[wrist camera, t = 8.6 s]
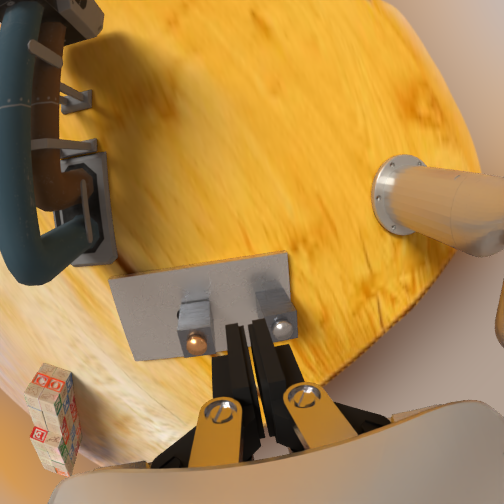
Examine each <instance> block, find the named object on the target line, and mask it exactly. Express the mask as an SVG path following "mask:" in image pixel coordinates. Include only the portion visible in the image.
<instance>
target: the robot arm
mask: <svg viewBox="0 0 504 504" xmlns="http://www.w3.org/2000/svg"><path fill="white" fill-rule="evenodd" d="M371 200H372V207H373V210H374V213H375V216H376V218H377V220H378V221H379V223H380V224H381V225H382V226H383V227H384V228H385V229H386V230H388V231H390V232H392V233H394V234H397V235H409V234H412V233H414V232H418V233H421V234H423V235H425V236H428V237H430V238H433V239H435V240H437V241H440V242H442V243H444V244H446V245H449V246H451V247H453V248H456V249H458V250H460V251H462V252H465V253H467V254H469V255H472V256H475V257H488V256H491V255H494V254H496V253H498V252H500V251H501V250H503V249H504V177H499V176H492V175H486V174H480V173H472V172H465V171H458V170H450V169H442V168H434V167H427V166H426V165H425V164H424V163H423V162H422V161H421V160H420V159H418V158H417V157H414V156H412V155H397V156H393V157H391V158H390V159H388V160H387V161H386V162H384V163H383V164H382V166H381V167H380V168H379V170H378V172H377V173H376V175H375V178H374V181H373V185H372V191H371ZM225 329H226V340H227V350H228V355H224V356H218V357H212V388H213V399H211V400H209V401H208V402H206V403H205V404H204V405H203V406H202V407H201V410H200V412H199V417H198V422H197V426H195V427H194V428H193V429H192V430H190V431H189V432H188V433H187V434H186V435H184V436H183V437H182V438H181V439H179V440H178V441H177V442H175V443H174V444H173V445H172V446H170V447H169V448H168V449H166V450H165V451H164V452H162V453H161V454H160V455H158V456H157V457H156V458H155V459H154V460H153V462H150V463H147V462H146V461H140V462H135V463H129V464H122V465H115V466H108V467H100V468H96V469H94V470H93V471H88V472H84V473H80V474H76V475H73V476H70V477H68V478H65V479H64V480H62V481H61V482H60V483H59V484H58V485H57V486H56V488H55V489H54V491H53V493H52V495H51V497H50V499H49V502H48V504H504V417H503V416H502V415H501V414H500V413H498V412H497V411H496V410H495V409H494V408H492V407H491V406H489V405H487V404H486V403H484V402H481V401H477V400H463V401H457V402H451V403H447V404H443V405H442V404H439V405H433V406H429V407H425V408H421V409H416V410H412V411H407V412H402V413H397V414H392V417H391V418H386V417H384V416H382V415H379V414H375V413H371V412H368V411H364V410H360V409H357V408H353V407H350V406H346V405H343V404H340V403H336V402H333V401H332V400H331V398H330V397H329V396H328V394H327V393H326V392H325V390H324V389H323V388H322V387H321V386H320V385H317V384H315V383H311V382H305V381H304V379H303V376H302V374H301V372H300V369H299V367H298V364H297V362H296V360H295V357H294V355H293V352H292V350H291V348H290V345H289V344H286V345H281V346H276V347H274V344H273V341H272V338H271V335H270V332H269V329H268V326H267V323H266V320H265V318H263V319H257V320H252V324H248V331H249V337H250V343H251V349H252V355H253V361H254V367H255V373H256V378H257V383H258V387H259V392H260V396H261V401H262V405H263V410H264V414H265V419H266V423H267V428H268V432H269V436H270V437H272V436H275V438H276V442H277V443H280V444H282V445H284V446H286V447H288V450H289V453H290V454H287V455H282V456H277V457H272V458H266V459H260V460H254V455H253V454H254V453H255V452H256V451H257V450H258V449H259V448H260V447H261V443H260V439H261V438H265V434H264V428H263V423H262V418H261V412H260V407H259V401H258V395H257V390H256V385H255V380H254V375H253V370H252V365H251V360H250V355H249V350H248V345H247V340H246V335H245V330H244V325H242V326H238V323H234V324H227V325H225ZM495 333H496V336H497V339H498V341H499V343H500V344H501V345H502V346H503V347H504V281H503V285H502V290H501V295H500V300H499V305H498V309H497V314H496V319H495Z"/></svg>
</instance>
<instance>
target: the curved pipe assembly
mask: <svg viewBox="0 0 504 504" xmlns="http://www.w3.org/2000/svg"><path fill="white" fill-rule="evenodd" d="M103 20H104V13H103V12H102V10H101V9H100V8H99V6H98V5H97V3H96V2H95V1H94V0H0V22H1V23H2V24H1V28H0V251H1V254H2V256H3V259H4V261H5V263H6V266H7V268H8V270H9V271H10V272H11V274H12V275H13V276H14V277H15V279H16V280H17V281H18V283H21V284H24V285H28V286H34V285H43V284H45V283H47V282H49V281H51V280H52V279H53V278H55V277H56V276H57V275H58V274H59V273H60V272H61V271H63V270H64V269H65V268H66V267H67V266H68V265H70V264H71V265H72V266H74V267H80V266H93V265H105V264H112V263H113V262H114V261H115V260H116V259H117V258H118V254H117V248H116V242H115V235H114V228H113V220H112V212H111V204H110V194H109V183H108V171H107V156H106V152H101V153H95V154H90V155H84V156H79V157H74V158H69V159H64V160H60V159H62V158H67V157H71V156H76V155H81V154H86V153H92V152H97V139H90V140H85V141H81V142H79V141H71V140H61V139H59V104H61V112H62V113H63V114H67V113H71V112H75V111H79V110H83V109H88V108H91V107H92V90H87V91H83V92H78V91H77V90H75V89H73V88H71V87H69V86H67V85H65V84H63V83H61V82H60V78H61V68H62V65H63V60H62V56H63V47H64V46H66V45H70V44H73V43H76V42H80V41H83V40H87V39H91V38H94V37H97V35H98V34H99V33H100V31H101V30H102V29H103ZM60 92H62V93H64V94H66V95H68V96H64V97H63V96H60ZM36 207H38V208H40V209H41V210H43V211H49V212H52V211H53V214H54V221H55V229H53V230H51V231H49V232H47V233H45V234H43V235H41V236H40V230H39V224H38V218H37V211H36Z"/></svg>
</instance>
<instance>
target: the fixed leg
mask: <svg viewBox="0 0 504 504" xmlns="http://www.w3.org/2000/svg"><path fill="white" fill-rule="evenodd" d="M255 298H256V306H257V314H258V319H263V318H265V320H266V323H267V326H268V329H269V332H270V335H271V338H272V341H273V342H278V341H284V340H289V339H293V338H298V328H297V310H296V309H295V307H294V305H293V304H292V302H291V300H290V299H289V297H288V295H287V294H286V292H285V290H284V288H283V287H282V288H277V289H271V290H265V291H259V292H255Z"/></svg>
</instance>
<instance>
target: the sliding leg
mask: <svg viewBox="0 0 504 504" xmlns="http://www.w3.org/2000/svg"><path fill="white" fill-rule="evenodd" d="M177 333H178V337H179V341H180V344H181V348H182V351H183V355H184V358H186V357H194V356H202V355H209V354H216V346H215V332H214V322H213V317H212V312H211V307H210V302H209V300H208V301H202V302H195V303H188V304H181V306H180V313H179V320H178V327H177Z"/></svg>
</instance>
